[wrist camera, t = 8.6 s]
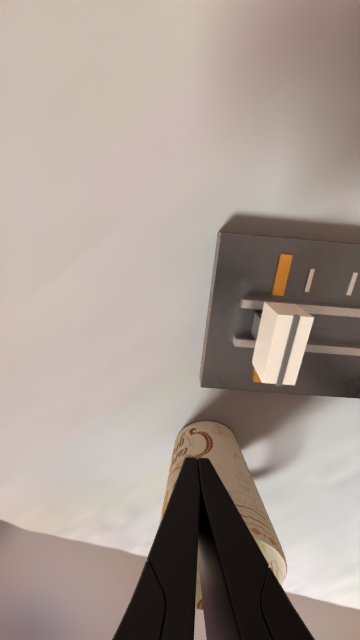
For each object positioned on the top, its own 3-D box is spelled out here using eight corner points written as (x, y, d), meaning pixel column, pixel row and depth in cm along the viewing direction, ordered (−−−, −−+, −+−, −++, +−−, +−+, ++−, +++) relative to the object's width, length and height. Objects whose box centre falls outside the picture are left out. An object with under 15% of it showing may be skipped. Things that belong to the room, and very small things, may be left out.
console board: (478, 254, 18) (513, 258, 17) (411, 392, 23) (433, 408, 21) (217, 231, 18) (222, 233, 16) (199, 376, 22) (201, 391, 20)
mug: (227, 397, 23) (260, 516, 14) (273, 484, 27) (322, 623, 18) (147, 429, 24) (126, 557, 15) (202, 508, 28) (212, 647, 19)
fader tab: (283, 295, 18) (315, 317, 14) (270, 351, 20) (295, 387, 15) (255, 292, 18) (279, 314, 14) (244, 349, 20) (262, 385, 15)
